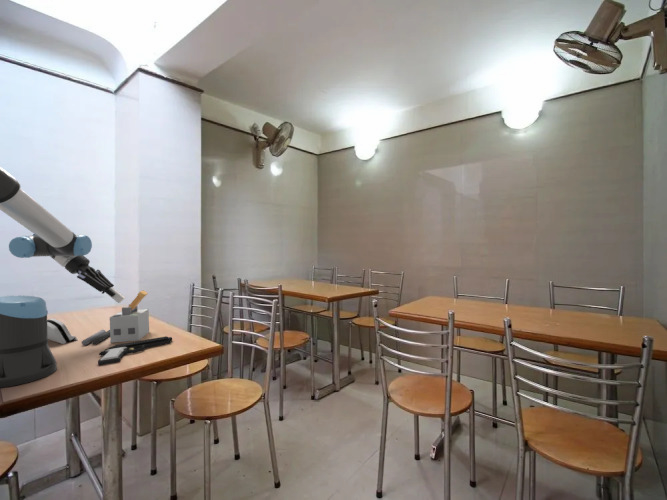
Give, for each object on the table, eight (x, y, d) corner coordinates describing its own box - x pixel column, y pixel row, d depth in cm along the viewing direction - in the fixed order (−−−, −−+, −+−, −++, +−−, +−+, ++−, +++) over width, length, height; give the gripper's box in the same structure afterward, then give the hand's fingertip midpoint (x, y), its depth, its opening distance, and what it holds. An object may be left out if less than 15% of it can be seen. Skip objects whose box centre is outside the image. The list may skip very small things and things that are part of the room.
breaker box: (110, 342, 122) (109, 309, 121) (123, 333, 133) (122, 303, 133) (138, 340, 124) (137, 308, 124) (149, 331, 136) (148, 302, 135)
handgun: (178, 344, 111) (171, 334, 124) (97, 359, 98) (98, 346, 110) (178, 352, 112) (171, 341, 124) (97, 368, 98) (99, 354, 110)
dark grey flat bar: (81, 345, 119) (81, 339, 118) (99, 335, 132) (99, 329, 132) (98, 344, 120) (97, 338, 120) (114, 334, 133) (114, 328, 133)
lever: (122, 311, 126) (139, 291, 127) (127, 308, 130) (143, 289, 132) (128, 314, 126) (144, 295, 127) (132, 312, 131) (148, 293, 132)
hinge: (78, 340, 125) (66, 319, 122) (64, 347, 122) (52, 325, 118) (60, 334, 134) (49, 314, 130) (46, 341, 130) (35, 321, 127)
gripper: (70, 254, 117) (121, 296, 121) (89, 253, 130) (135, 291, 134) (54, 269, 116) (106, 310, 120) (75, 266, 129) (122, 304, 133)
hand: (121, 300), depth 127 cm, fingers closed
